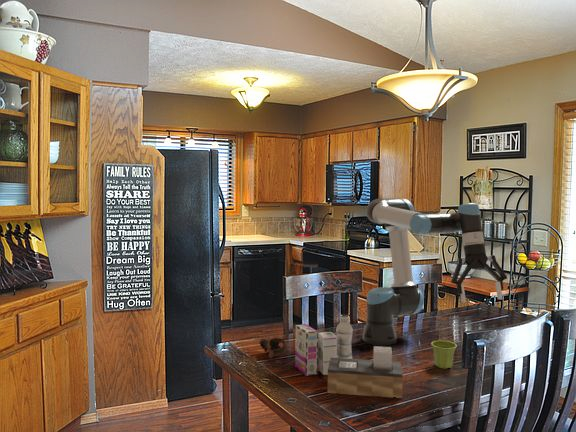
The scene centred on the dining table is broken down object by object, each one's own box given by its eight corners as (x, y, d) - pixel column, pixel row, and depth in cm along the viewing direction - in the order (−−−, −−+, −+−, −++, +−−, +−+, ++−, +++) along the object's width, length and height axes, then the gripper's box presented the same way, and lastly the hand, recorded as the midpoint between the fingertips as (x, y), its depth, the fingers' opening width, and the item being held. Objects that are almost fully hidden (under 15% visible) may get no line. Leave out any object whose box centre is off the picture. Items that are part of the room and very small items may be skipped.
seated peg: (339, 381, 178) (339, 361, 178) (356, 382, 177) (356, 362, 177) (338, 388, 172) (338, 367, 172) (355, 389, 171) (356, 368, 171)
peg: (373, 367, 176) (373, 346, 175) (390, 368, 175) (391, 347, 174) (373, 373, 170) (373, 351, 169) (391, 374, 169) (391, 352, 168)
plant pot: (455, 371, 189) (456, 349, 189) (429, 368, 193) (430, 346, 192) (456, 363, 198) (457, 342, 198) (431, 360, 201) (432, 339, 201)
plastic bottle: (342, 371, 189) (342, 319, 188) (332, 365, 195) (332, 314, 194) (356, 368, 192) (356, 317, 191) (346, 363, 198) (346, 313, 197)
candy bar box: (318, 374, 186) (318, 331, 185) (306, 376, 184) (306, 332, 183) (306, 364, 196) (306, 323, 195) (294, 366, 194) (294, 324, 193)
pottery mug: (288, 352, 212) (290, 339, 207) (280, 369, 204) (281, 355, 200) (262, 342, 215) (264, 329, 210) (253, 358, 207) (254, 345, 203)
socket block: (330, 379, 182) (330, 357, 181) (400, 383, 178) (400, 361, 177) (327, 392, 170) (327, 369, 169) (402, 398, 166) (402, 374, 165)
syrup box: (337, 373, 187) (337, 335, 186) (322, 375, 185) (322, 336, 184) (331, 368, 192) (332, 331, 191) (317, 370, 191) (317, 332, 190)
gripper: (443, 246, 186) (451, 304, 183) (510, 240, 186) (519, 298, 183) (438, 248, 194) (445, 303, 191) (502, 242, 194) (511, 297, 191)
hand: (482, 301), depth 187 cm, fingers open, 13 cm apart
